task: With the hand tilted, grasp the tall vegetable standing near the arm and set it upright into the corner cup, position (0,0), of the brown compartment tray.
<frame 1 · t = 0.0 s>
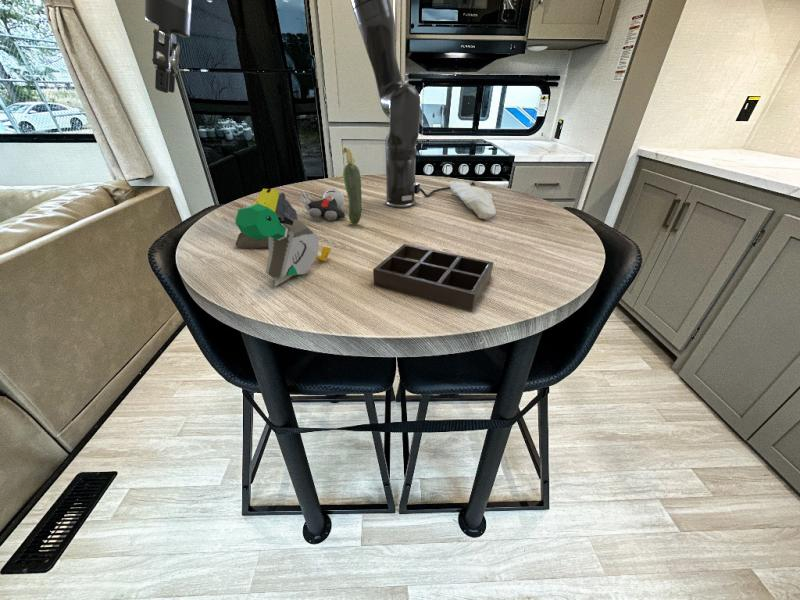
hand: (165, 91, 71), 31 cm above the table, tool tilted 20°, fingers open, 8 cm apart
brown compartment tray: (433, 281, 64), on the table
rock 2: (475, 206, 105), on the table
vegetable: (355, 226, 90), on the table
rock: (273, 240, 82), on the table
toy 2: (297, 271, 68), on the table
toy: (324, 214, 98), on the table
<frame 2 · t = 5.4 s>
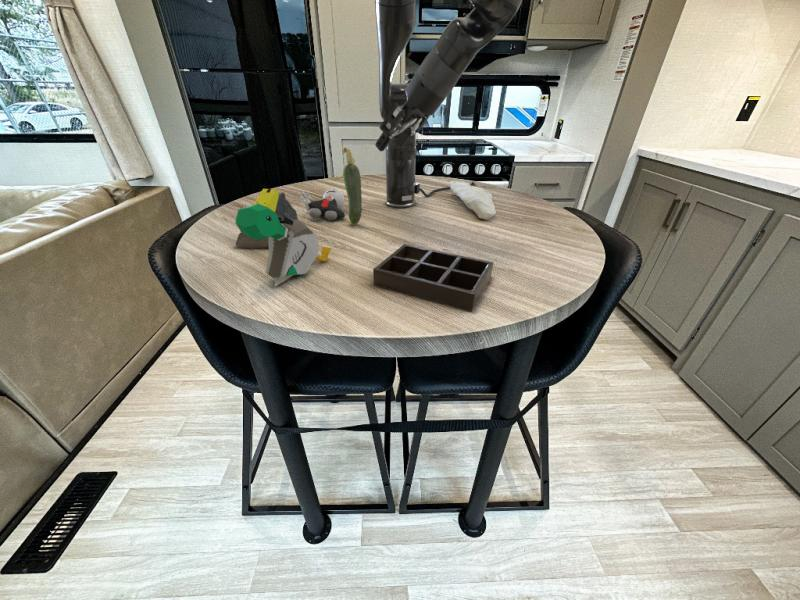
hand: (388, 146, 75), 21 cm above the table, tool tilted 40°, fingers open, 8 cm apart
nothing on the table moved.
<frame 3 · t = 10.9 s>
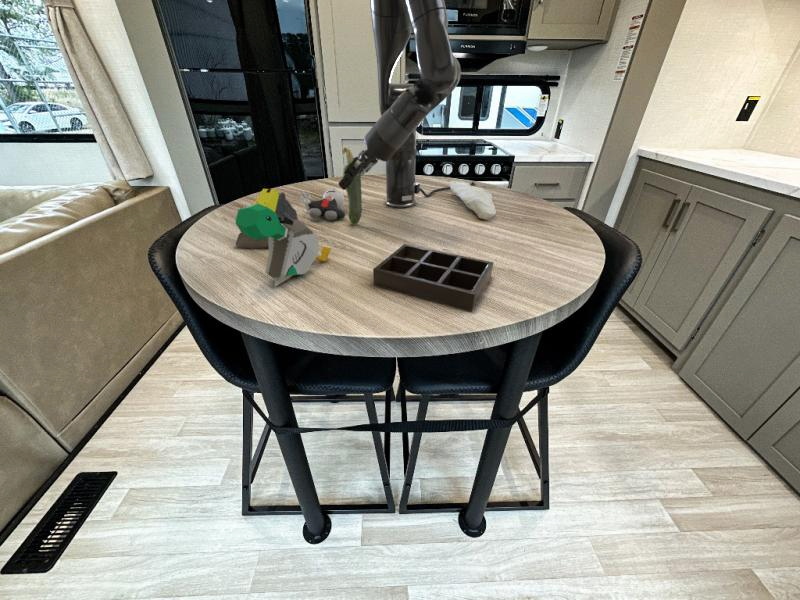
hand: (345, 184, 84), 11 cm above the table, tool tilted 45°, fingers closed on vegetable, 4 cm apart
vegetable: (355, 226, 90), on the table, touching gripper
everything else where it was.
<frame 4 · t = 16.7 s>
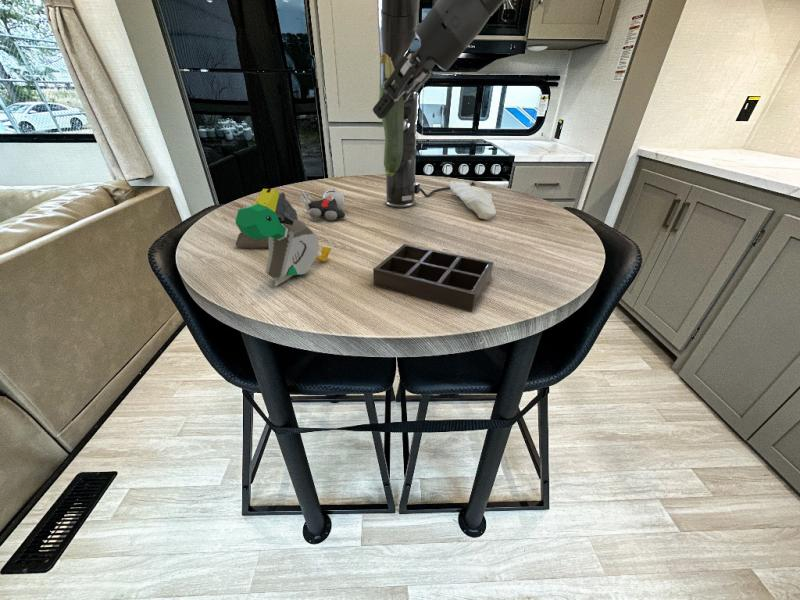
hand: (381, 113, 59), 28 cm above the table, tool tilted 45°, fingers closed on vegetable, 4 cm apart
vegetable: (392, 178, 65), point 17 cm above the table, touching gripper
everything else where it was.
when the fingers open (12 cm above the table, at t = 22.5 s): vegetable stays where it is, resting on brown compartment tray.
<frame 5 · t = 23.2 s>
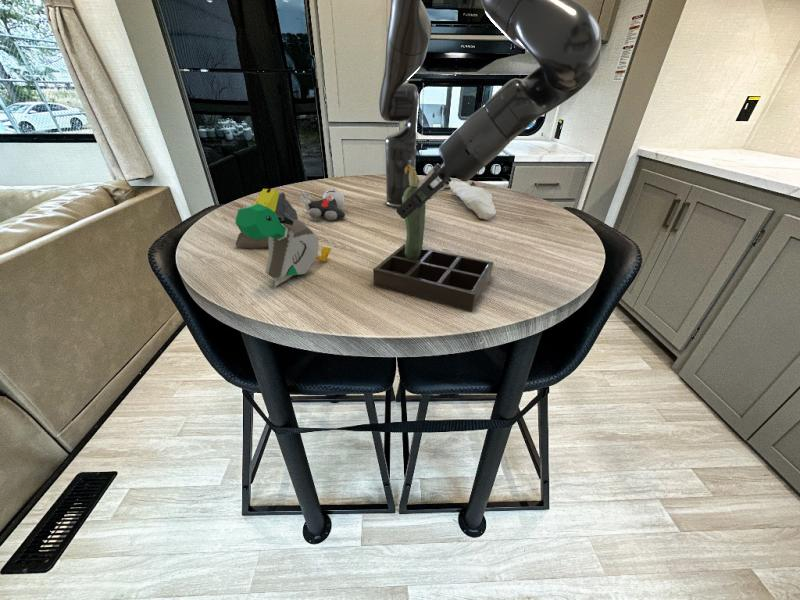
hand: (406, 207, 62), 13 cm above the table, tool tilted 45°, fingers open, 8 cm apart
vegetable: (412, 265, 69), point 1 cm above the table, touching brown compartment tray
everything else where it was.
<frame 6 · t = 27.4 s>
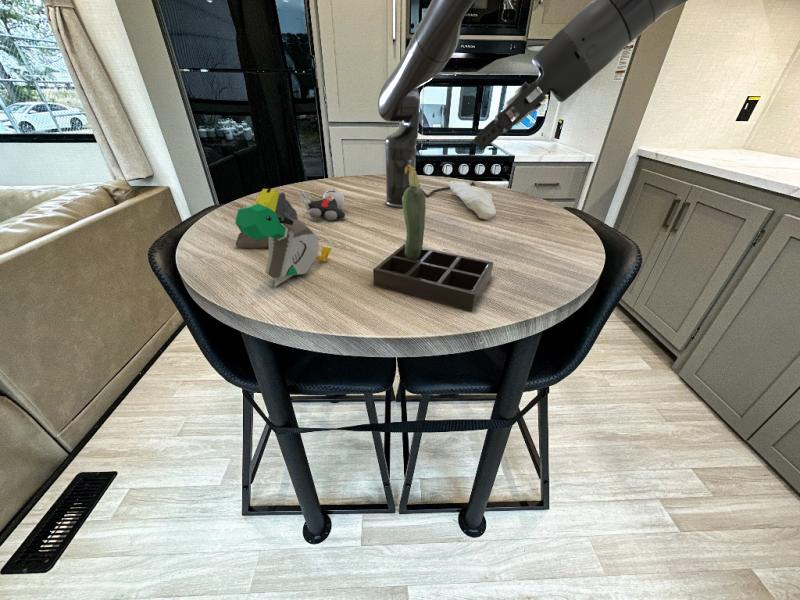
hand: (480, 141, 53), 25 cm above the table, tool tilted 45°, fingers open, 8 cm apart
nothing on the table moved.
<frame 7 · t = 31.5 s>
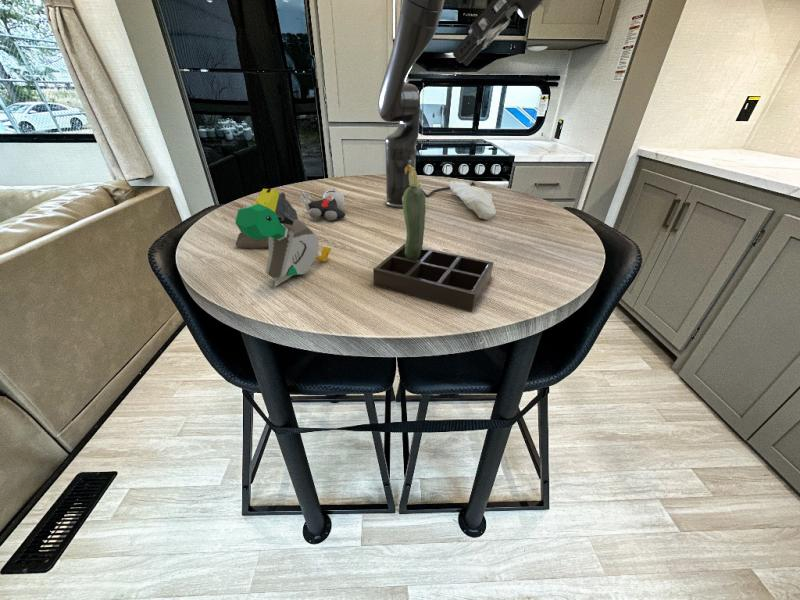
hand: (459, 60, 62), 37 cm above the table, tool tilted 45°, fingers open, 8 cm apart
nothing on the table moved.
at the end: vegetable 0.3 cm from the target spot in the brown compartment tray, point 0.5 cm above the brown compartment tray's base; vegetable tilted 0°; the gripper is holding nothing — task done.
